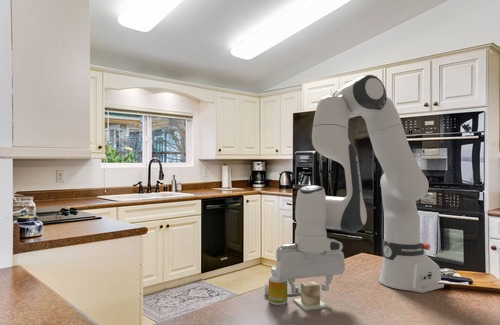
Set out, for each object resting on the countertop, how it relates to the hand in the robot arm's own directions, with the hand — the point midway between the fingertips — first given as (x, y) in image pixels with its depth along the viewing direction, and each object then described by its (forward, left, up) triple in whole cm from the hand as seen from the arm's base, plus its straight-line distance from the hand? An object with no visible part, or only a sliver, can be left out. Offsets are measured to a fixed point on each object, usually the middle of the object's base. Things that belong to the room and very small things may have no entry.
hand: (310, 291), depth 101 cm
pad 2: (0, 0, -4) cm, 4 cm away
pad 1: (0, -11, -4) cm, 12 cm away
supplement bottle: (+8, -4, -4) cm, 10 cm away
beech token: (0, 0, -3) cm, 3 cm away
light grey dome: (+7, -10, -4) cm, 13 cm away
